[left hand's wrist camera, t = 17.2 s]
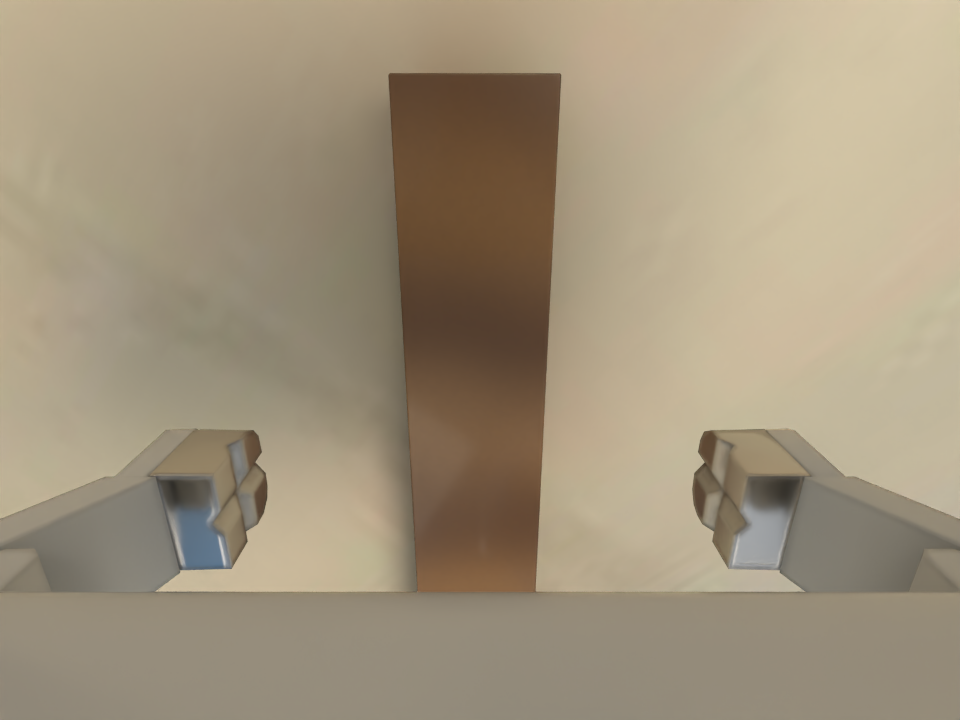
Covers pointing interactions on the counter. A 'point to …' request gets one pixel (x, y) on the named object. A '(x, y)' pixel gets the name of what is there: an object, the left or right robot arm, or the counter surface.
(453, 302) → the beam
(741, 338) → the counter surface
